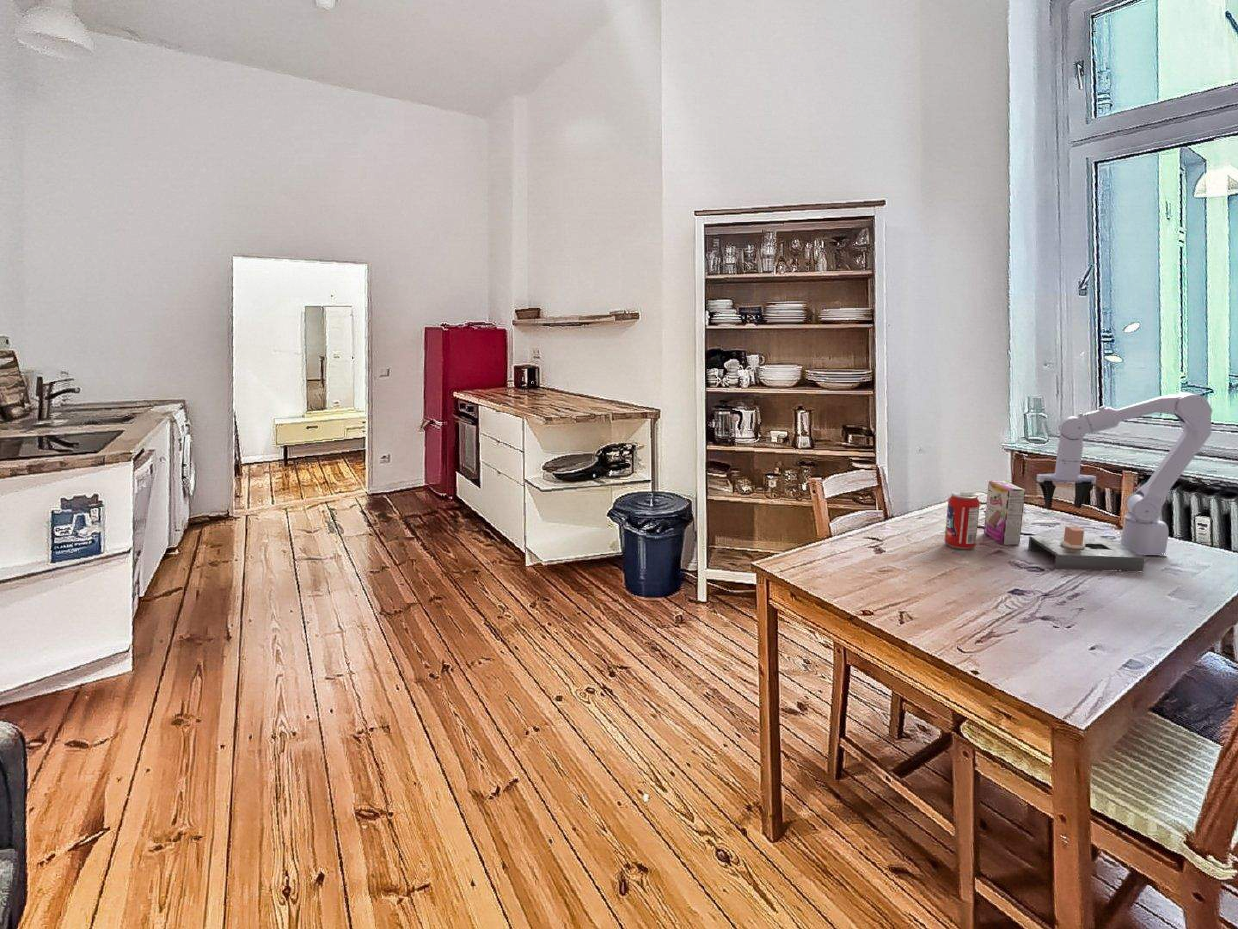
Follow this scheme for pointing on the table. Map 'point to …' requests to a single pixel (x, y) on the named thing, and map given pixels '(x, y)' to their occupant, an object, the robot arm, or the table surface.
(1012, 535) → the candy bar box
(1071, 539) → the peg
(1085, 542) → the keyhole bracket
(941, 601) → the table surface
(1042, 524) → the table surface
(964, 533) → the soda can
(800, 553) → the table surface
